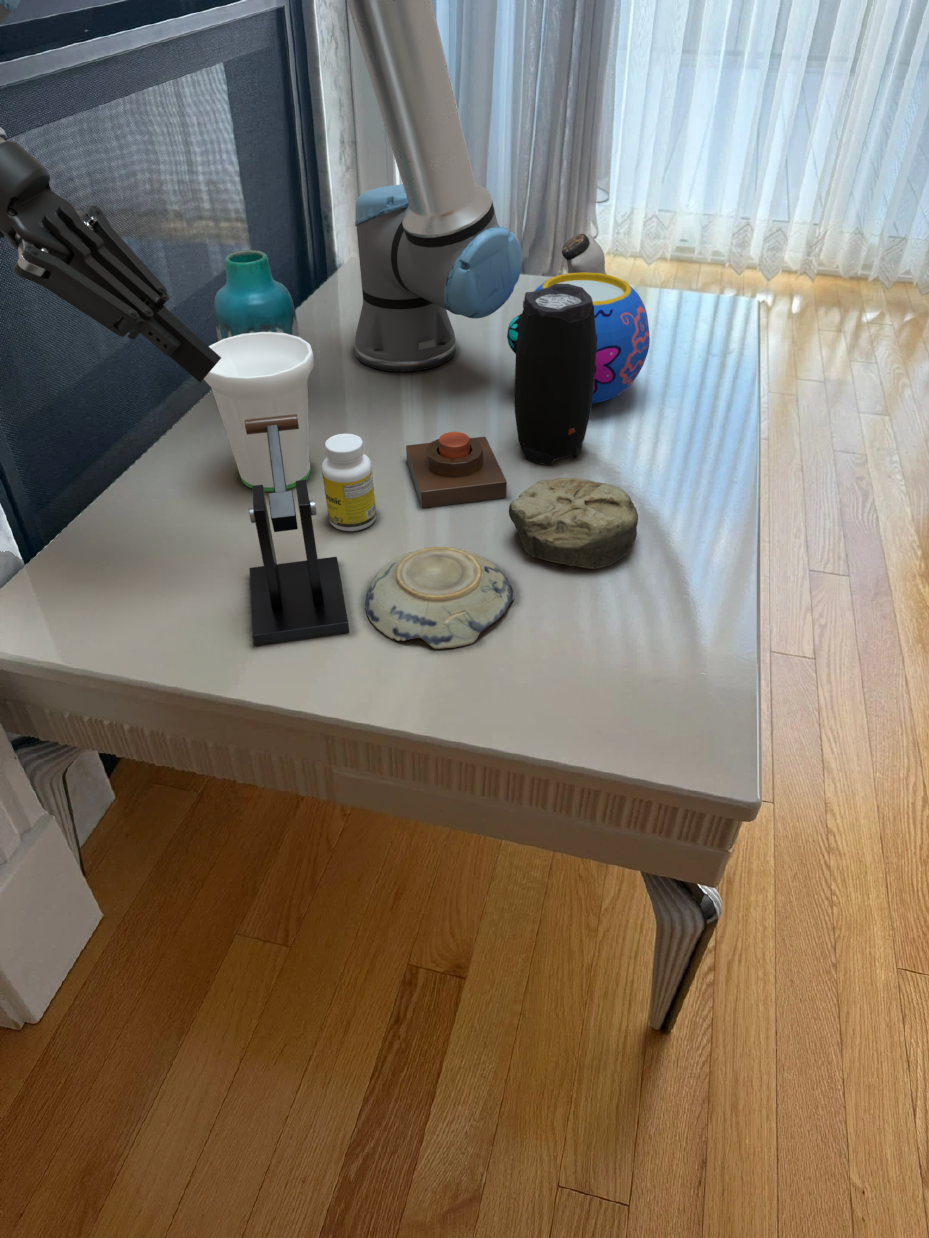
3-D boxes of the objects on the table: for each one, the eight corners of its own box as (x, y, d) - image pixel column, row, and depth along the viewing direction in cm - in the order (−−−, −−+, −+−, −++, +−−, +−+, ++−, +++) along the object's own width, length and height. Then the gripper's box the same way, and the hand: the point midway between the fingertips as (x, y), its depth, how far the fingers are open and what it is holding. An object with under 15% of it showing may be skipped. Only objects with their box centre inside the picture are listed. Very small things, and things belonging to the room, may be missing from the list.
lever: (246, 428, 88) (243, 413, 86) (298, 423, 89) (296, 407, 87) (258, 534, 83) (255, 520, 81) (313, 527, 84) (311, 514, 82)
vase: (255, 423, 119) (229, 277, 107) (216, 396, 126) (187, 256, 113) (322, 398, 125) (304, 257, 112) (280, 374, 131) (260, 237, 119)
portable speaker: (593, 465, 110) (607, 308, 97) (517, 469, 110) (521, 311, 97) (580, 432, 117) (592, 280, 104) (509, 435, 116) (512, 283, 103)
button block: (406, 461, 111) (405, 432, 109) (485, 452, 113) (485, 423, 110) (421, 508, 103) (420, 478, 101) (506, 498, 105) (507, 468, 102)
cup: (267, 513, 103) (244, 389, 93) (203, 476, 109) (176, 355, 99) (348, 471, 110) (335, 351, 100) (284, 438, 116) (266, 322, 106)
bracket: (251, 577, 93) (229, 470, 85) (338, 566, 95) (324, 459, 87) (254, 646, 85) (230, 534, 77) (349, 632, 87) (335, 521, 78)
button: (436, 446, 107) (436, 433, 106) (466, 443, 107) (466, 430, 106) (442, 461, 104) (441, 448, 103) (472, 458, 105) (472, 444, 103)
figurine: (576, 320, 145) (583, 223, 136) (632, 334, 141) (643, 234, 131) (548, 338, 140) (553, 238, 130) (605, 353, 135) (614, 250, 126)
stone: (611, 588, 91) (616, 545, 88) (494, 552, 96) (494, 510, 93) (653, 524, 100) (659, 483, 97) (543, 494, 105) (546, 454, 102)
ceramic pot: (541, 360, 134) (545, 256, 124) (657, 381, 128) (672, 274, 118) (493, 409, 122) (494, 299, 112) (620, 435, 116) (632, 321, 106)
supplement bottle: (322, 512, 103) (312, 435, 96) (367, 502, 104) (360, 425, 98) (336, 537, 99) (326, 459, 93) (383, 526, 100) (376, 448, 94)
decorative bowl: (383, 664, 83) (536, 631, 86) (379, 633, 81) (537, 601, 84) (352, 572, 94) (488, 545, 97) (348, 543, 92) (488, 517, 95)
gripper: (5, 184, 82) (213, 366, 91) (-81, 227, 72) (162, 427, 81) (41, 120, 78) (256, 317, 87) (-45, 157, 68) (207, 375, 77)
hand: (210, 370), depth 84 cm, fingers closed
